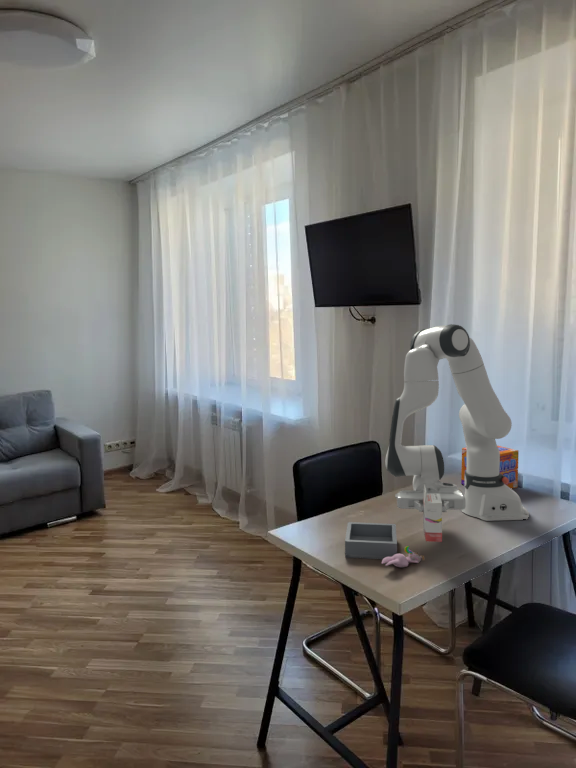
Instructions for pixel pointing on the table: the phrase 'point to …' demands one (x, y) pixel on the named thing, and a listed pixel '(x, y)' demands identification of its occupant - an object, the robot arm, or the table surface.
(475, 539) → the table surface
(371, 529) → the cartridge bin
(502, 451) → the game box
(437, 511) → the ink cartridge box
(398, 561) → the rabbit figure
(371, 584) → the table surface
